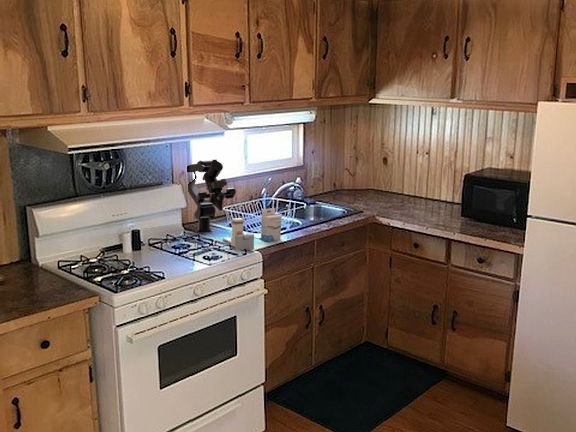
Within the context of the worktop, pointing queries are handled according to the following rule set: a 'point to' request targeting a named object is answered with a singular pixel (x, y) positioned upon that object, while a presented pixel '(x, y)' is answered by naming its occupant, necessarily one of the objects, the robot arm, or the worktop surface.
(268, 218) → the ink box
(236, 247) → the gauge cabinet
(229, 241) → the steel rail
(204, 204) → the robot arm
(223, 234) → the worktop surface
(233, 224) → the cream bottle
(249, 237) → the gauge plunger
